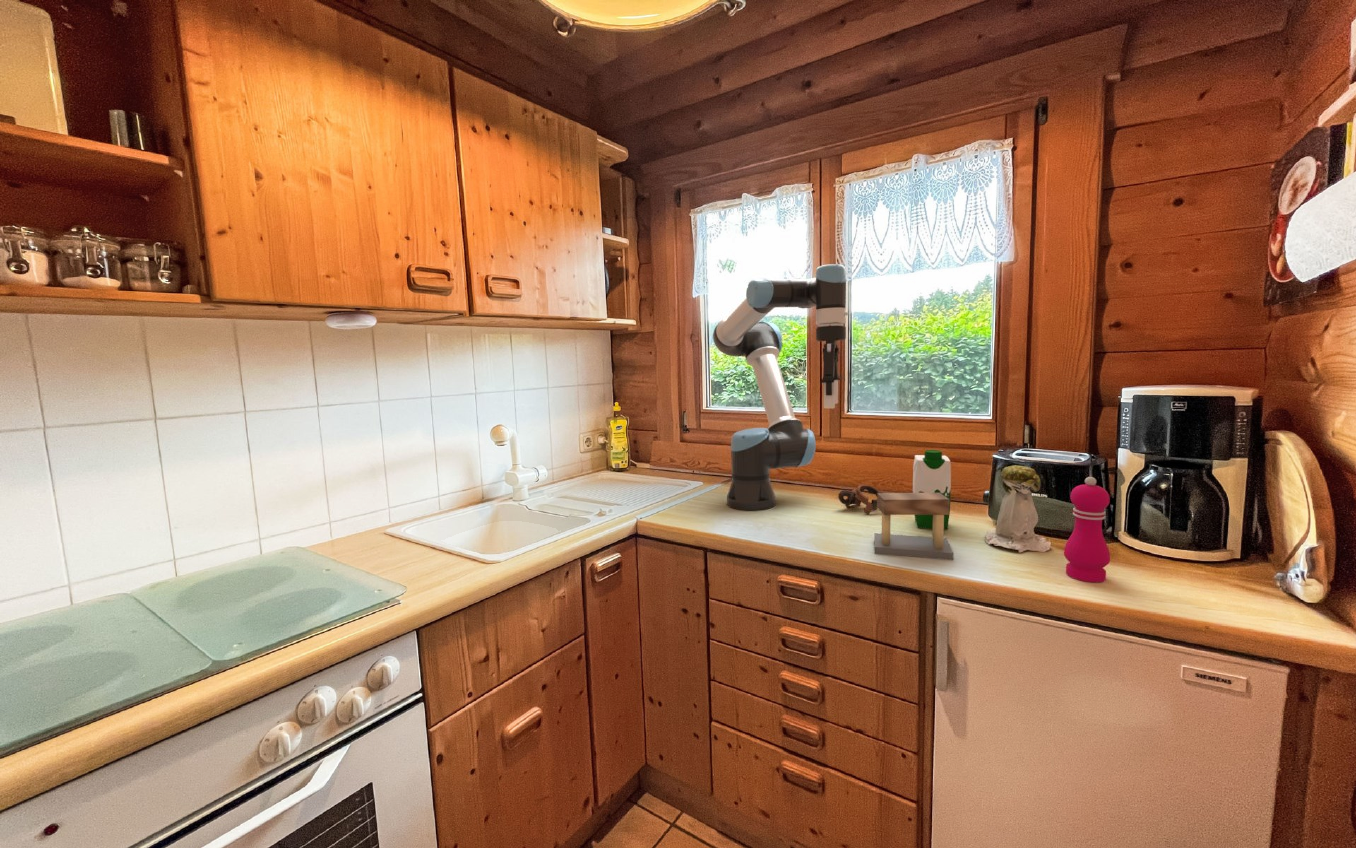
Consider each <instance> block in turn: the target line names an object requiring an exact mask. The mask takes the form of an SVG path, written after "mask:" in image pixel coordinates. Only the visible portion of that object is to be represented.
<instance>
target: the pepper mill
mask: <svg viewBox="0 0 1356 848" xmlns="http://www.w3.org/2000/svg"><path fill="white" fill-rule="evenodd" d="M1084 483H1085V484H1080V485H1079V484H1078V485H1076V486H1075V487H1073V489H1072V491H1071V492H1070V496H1069V497H1070V501H1071V504H1073V505H1074V507H1073V508H1072V510H1073V512H1072V515H1073V516H1074V521H1075V522H1074V526H1073V527H1074V529H1073V531H1072V532H1071V535H1070V536H1069V538H1068V539H1067V541H1066V543H1065V546H1064V549H1063V550H1064V551H1063V556H1064V557H1065V558H1066V560H1067V561H1068V563H1066V564H1065V574H1066V575H1068V577H1069V578H1072V579H1075V580H1077V581H1082V582H1086V583H1103V582H1105V581H1106V579H1107V571H1106V569H1105V567H1107V566H1108V565H1109V564H1110V562H1111V553H1110V549H1109V547H1108V544H1107V541H1106V540H1105V537H1104V534H1103V520H1105V519H1106V511H1105V509H1106V508H1107V507H1108V506H1110V505H1109V504H1110V494H1109V493H1108V491H1107V490H1106V488H1103V487H1101V486H1100V485H1097V479H1096V478H1095V477H1093V476H1088V477H1086V478H1085V479H1084Z"/></svg>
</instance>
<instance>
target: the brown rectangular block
mask: <svg viewBox="0 0 1356 848" xmlns="http://www.w3.org/2000/svg"><path fill="white" fill-rule="evenodd" d="M876 499H877V509H878V510H879V511H880V513H881V514H882V513H883V514H884V515H891V516H900V515H901V516H907V515H908V516H909V515H912V516H915V515H949V504H950V505H951V498H950V499H948V498H947V497H945V496H944V495H942V494H941V493H913V492H880V493H877V496H876ZM949 516H950V515H949Z"/></svg>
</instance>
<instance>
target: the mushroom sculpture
mask: <svg viewBox="0 0 1356 848" xmlns="http://www.w3.org/2000/svg"><path fill="white" fill-rule="evenodd" d="M1000 478H1001V480H1002V488H1003V489H1004V491H1005V492H1006V493H1005V495H1003V498H1002V499H1001V500H1002V501H1001V504H1000V507H999V509H1000V510H999V511H998V516H997V521H996V526H995V529H989V530H988V531H986V532H985V534H984V541H985V544H987V545H988V546H989V545H992V544H993V545H994V546H996V547H998V546H999V547H1002V548H1007V549H1012V550H1017V551H1018V553H1019V554H1020V553H1023V552H1025V551H1033V552H1040V553H1041V552H1042V553H1045V552H1046V551H1049V550H1050V549H1051V539H1050V538H1048V541H1047V540H1046V539H1047V538H1046V537H1041V536H1040V535H1039V534H1036V533H1035V531H1034V529H1035V527H1036V525H1038V524H1037V523H1038V522H1039V517H1038V516H1039V515H1038V512H1037V510H1036V507H1035V503H1034V499H1033V497H1032V495H1031V494H1032V493H1035V492H1038V491H1040V489H1041V478H1043V476H1041V478H1040V477H1039V475H1038V474H1037V471H1036V470H1035V469H1034V468H1031V467H1028V466H1024V465H1016V464H1015V465H1009V466H1005V467H1004V468H1003V467H1002V470H1001V472H1000Z"/></svg>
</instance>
